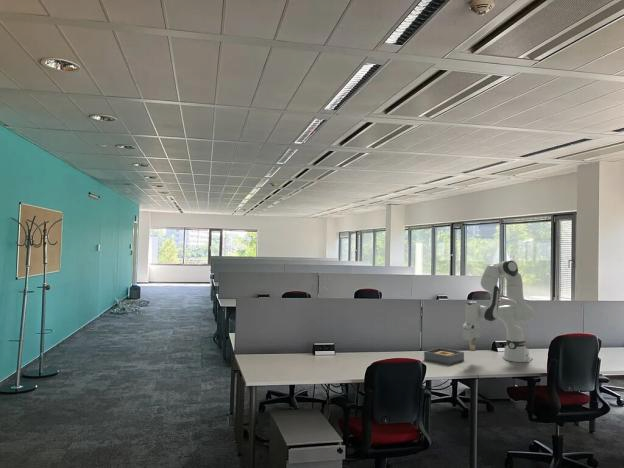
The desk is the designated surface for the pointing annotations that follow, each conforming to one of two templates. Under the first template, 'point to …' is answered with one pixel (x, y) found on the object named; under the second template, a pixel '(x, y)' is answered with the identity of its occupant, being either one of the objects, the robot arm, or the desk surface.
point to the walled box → (444, 356)
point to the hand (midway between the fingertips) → (472, 344)
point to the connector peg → (473, 345)
